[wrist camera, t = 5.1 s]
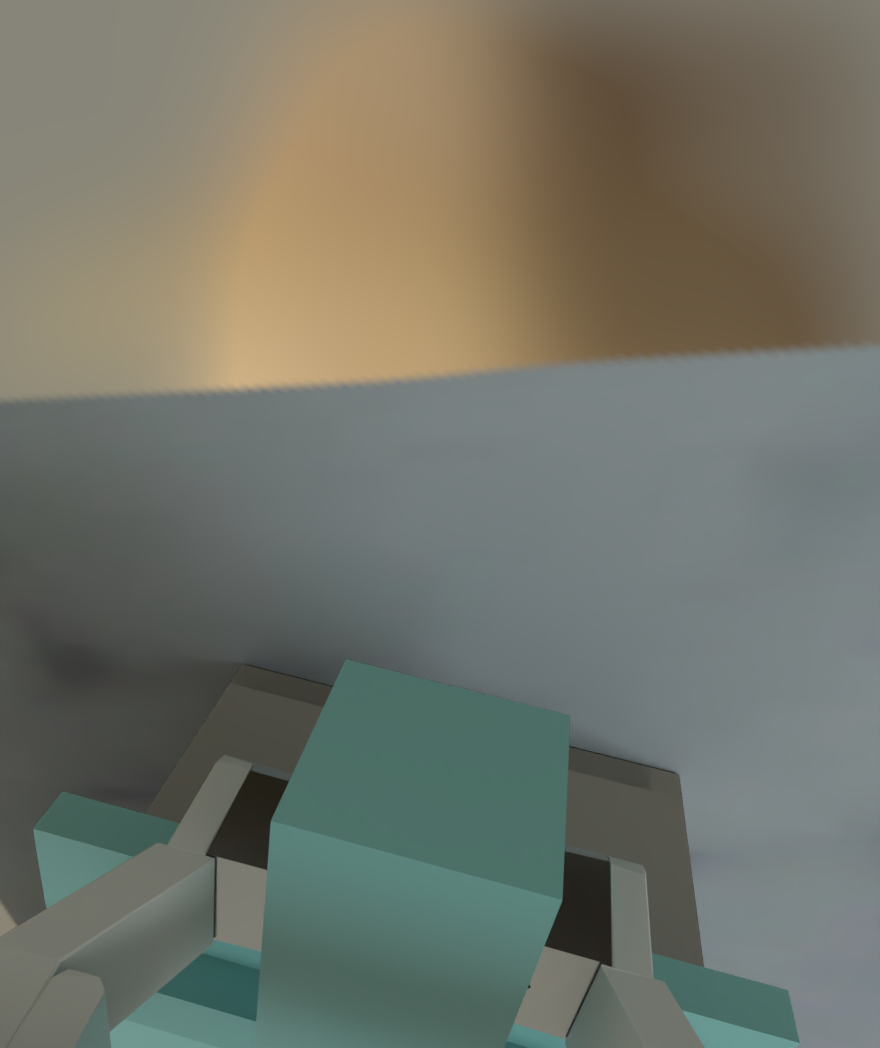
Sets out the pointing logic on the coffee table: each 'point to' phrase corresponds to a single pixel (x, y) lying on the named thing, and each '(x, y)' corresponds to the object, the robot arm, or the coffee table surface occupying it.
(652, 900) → the tub
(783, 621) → the coffee table surface
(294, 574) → the coffee table surface
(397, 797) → the lid
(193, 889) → the robot arm
